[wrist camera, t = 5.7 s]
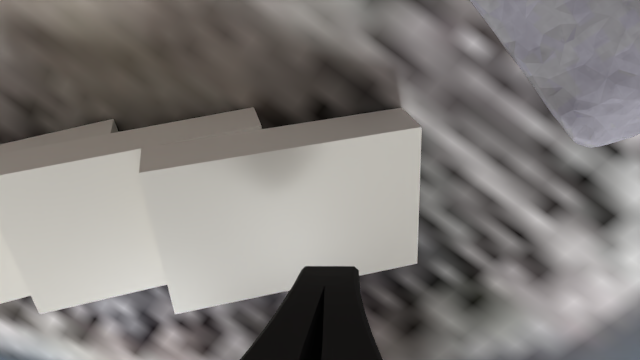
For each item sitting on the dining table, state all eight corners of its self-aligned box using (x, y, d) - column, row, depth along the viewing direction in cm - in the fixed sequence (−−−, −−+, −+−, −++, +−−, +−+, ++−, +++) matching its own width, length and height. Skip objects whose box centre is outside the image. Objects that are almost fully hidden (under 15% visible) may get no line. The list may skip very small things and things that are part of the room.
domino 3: (417, 263, 18) (174, 314, 17) (399, 237, 20) (174, 282, 18) (421, 126, 16) (138, 172, 14) (401, 107, 17) (141, 147, 16)
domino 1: (156, 261, 20) (-81, 325, 18) (156, 237, 21) (-65, 295, 20) (109, 136, 17) (-168, 200, 16) (113, 118, 19) (-142, 176, 17)
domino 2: (282, 257, 19) (39, 314, 18) (274, 232, 20) (48, 283, 19) (261, 125, 16) (-24, 179, 15) (253, 106, 18) (-9, 155, 16)
